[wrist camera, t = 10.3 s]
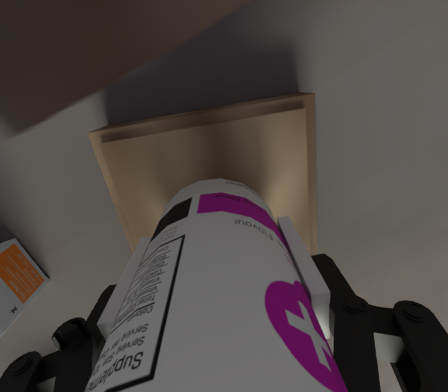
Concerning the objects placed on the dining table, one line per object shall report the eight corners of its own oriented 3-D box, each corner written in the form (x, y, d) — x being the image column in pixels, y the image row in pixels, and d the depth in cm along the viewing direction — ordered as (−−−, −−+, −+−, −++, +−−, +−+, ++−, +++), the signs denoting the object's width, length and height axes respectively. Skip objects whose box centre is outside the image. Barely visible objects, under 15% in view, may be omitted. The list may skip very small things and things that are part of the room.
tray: (158, 275, 27) (148, 304, 24) (107, 125, 21) (83, 133, 17) (305, 254, 27) (319, 280, 23) (299, 92, 20) (317, 93, 17)
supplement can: (257, 160, 17) (436, 487, 3) (280, 257, 20) (418, 630, 6) (144, 192, 18) (-120, 572, 4) (184, 280, 21) (118, 660, 7)
